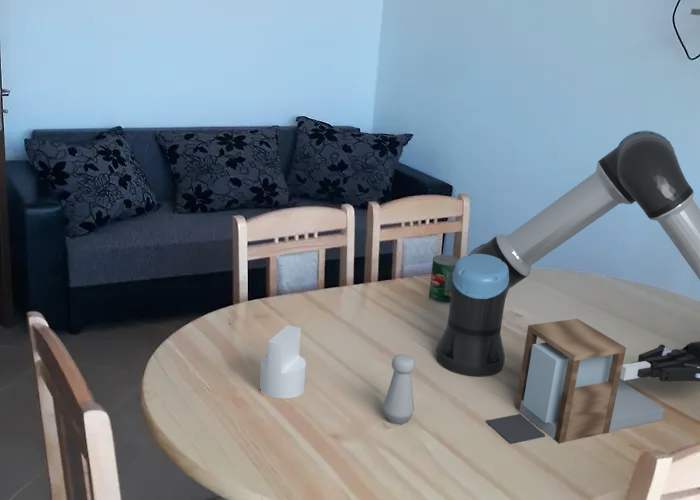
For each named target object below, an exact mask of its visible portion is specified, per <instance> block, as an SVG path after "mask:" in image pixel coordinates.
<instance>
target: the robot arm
mask: <svg viewBox="0 0 700 500" xmlns="http://www.w3.org/2000/svg"><path fill="white" fill-rule="evenodd" d="M595 168H596V170H595V171H594V172H593V173H592V174H590V175H589V176H588V177H586V178H584V179H583V180H582V181H581V182H579V183H578V184H577V185H576V186H573V188H571V189H570V190H569V191H567V192H565V193H564V194H563V195H562V196H560V197H559V198H558V199H557V200H554V201H553V202H552V203H550V205H548V206H547V207H546V208H544V209H542V210H541V211H540V212H539V213H537V214H536V215H534V216H533V217H531V218H530V219H528V220H527V221H526V222H525V223H523V224H522V225H520V226H519V227H518V228H516V229H515V230H514V231H513V232H511V233H510V234H502V233H499V234H497V235H496V236H495V237H493V238H492V239H490V240H489V241H487V242H484V243H481V244H479V245H478V246H476V247H474V248H473V249H472V250H471V251H470V252H469V254H468V255H465V256H463V257H461V258H460V259H459V260H458V261H457V263H456V265H455V269H454V271H453V284H452V293H451V301H450V304H449V308H448V319H447V325H446V327H445V329H444V332H443V333H442V335H441V337H440V340H439V341H438V344H437V346H436V351H435V353H436V354H435V359H436V361H437V362H438V364H439V365H441V366H442V367H444V368H445V369H447V370H449V371H451V372H453V373H456V374H461V375H465V376H472V377H487V376H492V375H495V374H498V373H500V372H501V371H502V370H503V368H504V364H505V358H506V357H505V351H504V346H503V339H502V336H501V330H502V323H503V317H504V316H503V315H504V309H505V302H506V298H507V296H508V293H509V290H510V289H512V288H513V287H514V286H515V285H517V284H519V283H520V282H521V281H523V280H524V279H525V278H527V277H529V275H530V273H531V269H532V266H533V265H534V264H535V263H537V262H538V261H540V260H541V259H542V258H544V257H545V256H547V255H548V254H549V253H551V252H553V251H554V250H556V249H557V248H558V247H559V246H561V245H563V244H564V243H566V242H567V241H568V240H570V239H571V238H573V237H574V236H575V235H577V234H578V233H580V232H581V231H582V230H584V229H585V228H587V227H588V226H590V225H591V224H592V223H594V222H596V221H597V220H598V219H599V218H601V217H603V216H605V215H606V214H607V213H609V212H610V211H611V210H613V209H614V208H615V207H618V206H619V204H620V205H621V204H624V205H632V204H633V203H635V202H636V203H637V204H638V205H639V207H640V208H641V209H642V211H643V212H644V213H645V215H646V216H647V218H649V220H650V221H655V222H656V221H657V222H658V223H659V225H660V226H661V229H663V231H664V232H665V233H666V234H667V237H669V239H670V241H671V242H672V243H673V244H674V246H675V247H676V249H677V251H678V252H679V253H680V254H681V256H682V257H683V258H684V260H685V261H686V263H687V264H688V266H689V267H690V269H691V270H692V271H693V272H694V274H695V275H696V277H697V279H699V280H700V207H698V205H697V203H696V202H695V201H694V199H693V198H694V194H695V191H694V189H693V188H692V186H691V185H690V184H689V182H688V180H687V179H686V177H685V175H684V172H683V170H682V168H681V165H680V163H679V160H678V157H677V155H676V152H675V148H674V146H673V145H672V144H671V142H670V141H669V140H668V139H667V138H666V137H665V136H664V135H662V133H661V134H660V133H659V132H656V131H653V130H639V131H635V132H632V133H630V134H628V135H626V136H625V137H623V139H622V140H621V141H620V142H619V143H618V145H617V147H616V148H614V149H612V150H611V151H610V152H609V153H607V154H605V156H603V157H602V158H600V159H599V160H598V161H597V162H596V167H595ZM641 378H642V379H644V378H653V379H656V378H658V381H660V382H689V381H690V382H700V341H694V342H690V343H688V344H686V345H685V346H684V347H683V348H681V349H678V348H673V349H672V350H670V349H667V347H666V345H665V344H659V345H658V346H657V347H656V348H653V349H651V350H648V351H646V352H645V351H644V352H643V353H640V354H639V355H638V358H637V361H635V362H634V361H633V362H630V363H626V364H625V363H624V364H623V366H622V371H621V375H620V380H621V381H622V382H624V381H629V380H634V379H641Z"/></svg>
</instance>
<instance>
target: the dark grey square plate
mask: <svg viewBox="0 0 700 500" xmlns="http://www.w3.org/2000/svg"><path fill="white" fill-rule="evenodd" d="M485 423H486V424H487V425H489V426H490V428H492V429H493V430H494V431H495V432H496V433H497V434H498V435H500V436H501V437H502V439H504V440H505V441H506V442H508V444H510V445H512V444H516V443H522V442H525V441H531V440H535V439H540V438H544V437H546V434H545V433H543V431H541V430H540V428H537V426H535V425H534V424H533V423H531V422H530V421H529V419H528V418H526V417H525V416H523V415H522V414H521V413H518V414H517V413H516V414H511V415H508V416H502V417H495V418H492V419H491V418H490V419H486V420H485Z"/></svg>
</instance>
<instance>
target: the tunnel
mask: <svg viewBox="0 0 700 500" xmlns="http://www.w3.org/2000/svg"><path fill="white" fill-rule="evenodd" d="M538 338H539V339H541V340H542V341H543V342H544V343H548V344H549V345H551V346H552V347H554V348H555V349H557V350H558V351H560V352H561V353H563V354H564V355H566V356H567V357H569V359H568V365H567V371H566V376H565V382H564V387H563V393H562V399H561V404H560V410H559V415H558V421H557V426H556V432H555V438H554V439H553V440H554V441H555V442H557V443H558V444H562V443H563V444H564V443H565V442H569V441H574V440H579V439H584V438H589V437H595V436H598V435H604V434H608V433H610V432H609V429H610V424H611V420H612V415H613V410H614V405H615V400H616V395H617V390H618V385H619V380H620V381H621V379H620V375H621V371H622V366H623V365H624V361H625V356H626V350H627V347H626V346H625V345H622V344H621V343H619V342H618V341H616V340H614V339H612V337H609V336H608V335H606V334H604V333H602V332H600V331H599V330H597V329H595V328H594V327H592V326H590V325H589V324H587V322H584V321H582V320H581V319H579V318H572V319H571V318H570V319H566V320H564V319H563V320H557V321H549V322H542V323H535V324H534V323H533V324H528V325H527V331H526V338H525V343H524V351H523V356H522V362H521V363H522V364H521V369H520V376H519V382H518V388H517V396H516V399H515V400H516V401H515V407H514V408H515V409H517V410H518V411H519V412H520V405H521V400H523V399H524V395H525V389H526V383H527V377H528V370H529V364H530V358H531V352H532V346H533V344H537V339H538ZM607 355H613V358H612V363H611V368H610V373H609V378H608V382H604V383H598V384H593V385H587V386H582V387H576V388H575V385H576V380H577V374H578V369H579V363H580V360H582V359H588V358H595V357H601V356H607Z"/></svg>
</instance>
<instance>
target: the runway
mask: <svg viewBox="0 0 700 500" xmlns="http://www.w3.org/2000/svg"><path fill="white" fill-rule="evenodd" d="M523 401H524V399H523V400H521V405H520V411H519V412H520V413H522V414H523V415H524V417H525V418H527V419H528V420H530V421H531V422H532V423H534V424H535V425H536V427H538V428H539V429H541V430H543V431H542V432H545V433H546V434H547V435H548V436H550V437H551V438H552V439H553V440H554V438H555V432H556V426H557V421H553V422H548V423H545V422H544V421H542V420H541V419H540V418H539V417H537V416H536V415H535V414H534V413H532V412H531V411H530V410H529V409H528V408H526V407H525V406H524V405H523ZM664 412H665V408H663V407H662V406H660V405H659V404H658V403H656V402H654V401H653V400H651V399H650V398H648V397H647V396H645V395H643V394H642V393H640V392H639V391H637V390H636V389H634V388H633V387H631V386H629V385H628V384H626V383H625V382H624V381H623V380H621V379H620V380H619V385H618V390H617V395H616V400H615V405H614V410H613V415H612V420H611V424H610V429H609V433H610V432H613V431H614V432H615V431H618V430H624V429H628V428H632V427H637V426H641V425H646V424H651V423H656V422H659V421H660V422H661V421H663V418H664Z"/></svg>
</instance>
